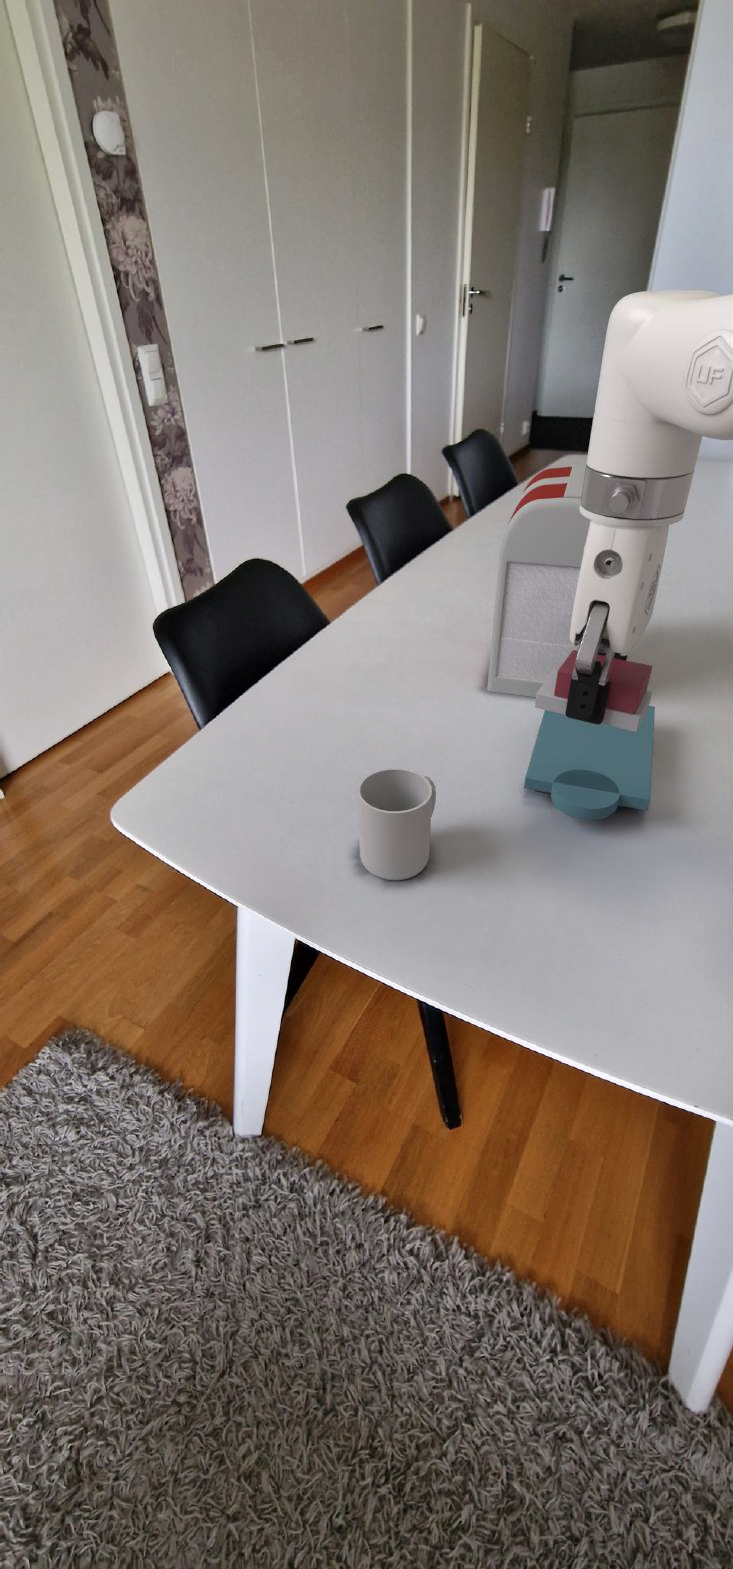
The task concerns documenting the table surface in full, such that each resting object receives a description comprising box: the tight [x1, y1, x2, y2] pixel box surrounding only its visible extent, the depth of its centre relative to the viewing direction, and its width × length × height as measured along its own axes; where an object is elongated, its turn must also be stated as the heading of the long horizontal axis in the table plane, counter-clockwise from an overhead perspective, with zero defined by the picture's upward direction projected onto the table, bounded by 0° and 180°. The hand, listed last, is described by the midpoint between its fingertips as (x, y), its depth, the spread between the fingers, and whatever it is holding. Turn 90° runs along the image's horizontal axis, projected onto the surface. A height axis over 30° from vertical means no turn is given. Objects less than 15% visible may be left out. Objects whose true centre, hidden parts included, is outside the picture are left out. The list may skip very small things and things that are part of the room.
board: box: [523, 705, 656, 821], centre depth 83 cm, size 24×13×4 cm, turn 161°
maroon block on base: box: [534, 650, 653, 732], centre depth 62 cm, size 9×5×4 cm, turn 61°
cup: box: [356, 767, 437, 881], centre depth 71 cm, size 7×10×9 cm
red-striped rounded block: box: [486, 463, 591, 698], centre depth 97 cm, size 16×18×27 cm
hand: (593, 702), depth 63 cm, fingers closed on maroon block on base, 5 cm apart
